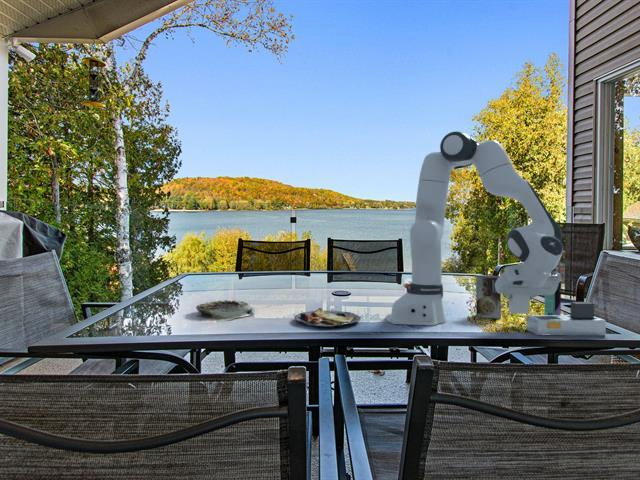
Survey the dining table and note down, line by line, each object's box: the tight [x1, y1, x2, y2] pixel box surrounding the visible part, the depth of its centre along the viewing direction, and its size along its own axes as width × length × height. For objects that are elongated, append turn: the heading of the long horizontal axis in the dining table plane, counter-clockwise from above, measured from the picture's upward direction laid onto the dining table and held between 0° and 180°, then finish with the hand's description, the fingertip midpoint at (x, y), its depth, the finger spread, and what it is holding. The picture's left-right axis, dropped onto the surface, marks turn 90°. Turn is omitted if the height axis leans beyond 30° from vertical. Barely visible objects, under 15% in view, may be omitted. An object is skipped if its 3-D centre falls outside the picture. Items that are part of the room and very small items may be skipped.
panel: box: [508, 294, 531, 315], centre depth 153 cm, size 6×3×9 cm, turn 89°
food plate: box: [293, 307, 362, 328], centre depth 161 cm, size 25×23×4 cm
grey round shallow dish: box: [195, 299, 254, 322], centre depth 176 cm, size 28×27×5 cm
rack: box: [525, 301, 607, 336], centre depth 142 cm, size 22×8×10 cm, turn 89°
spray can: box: [543, 267, 562, 315], centre depth 161 cm, size 6×6×20 cm
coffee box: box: [475, 274, 502, 320], centre depth 167 cm, size 9×6×16 cm
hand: (518, 298), depth 153 cm, fingers closed on panel, 6 cm apart
